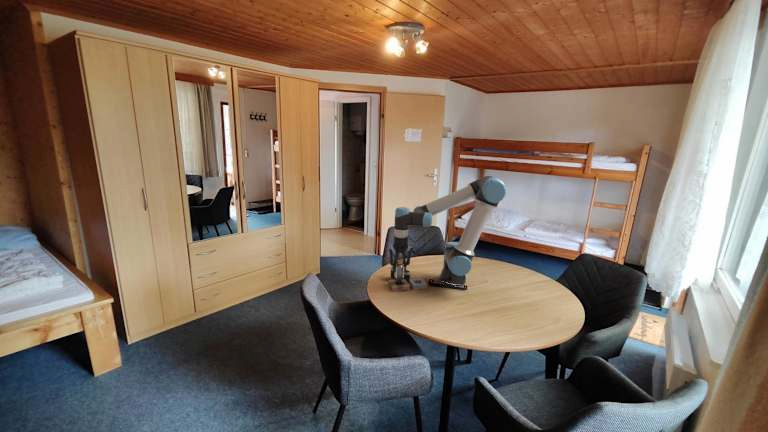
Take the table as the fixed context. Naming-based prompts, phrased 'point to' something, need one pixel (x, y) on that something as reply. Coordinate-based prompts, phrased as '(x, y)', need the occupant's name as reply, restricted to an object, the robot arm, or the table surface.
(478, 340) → the table surface
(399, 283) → the lock pin
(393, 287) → the dock block
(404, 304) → the table surface
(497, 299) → the table surface
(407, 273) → the camera
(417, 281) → the plate
